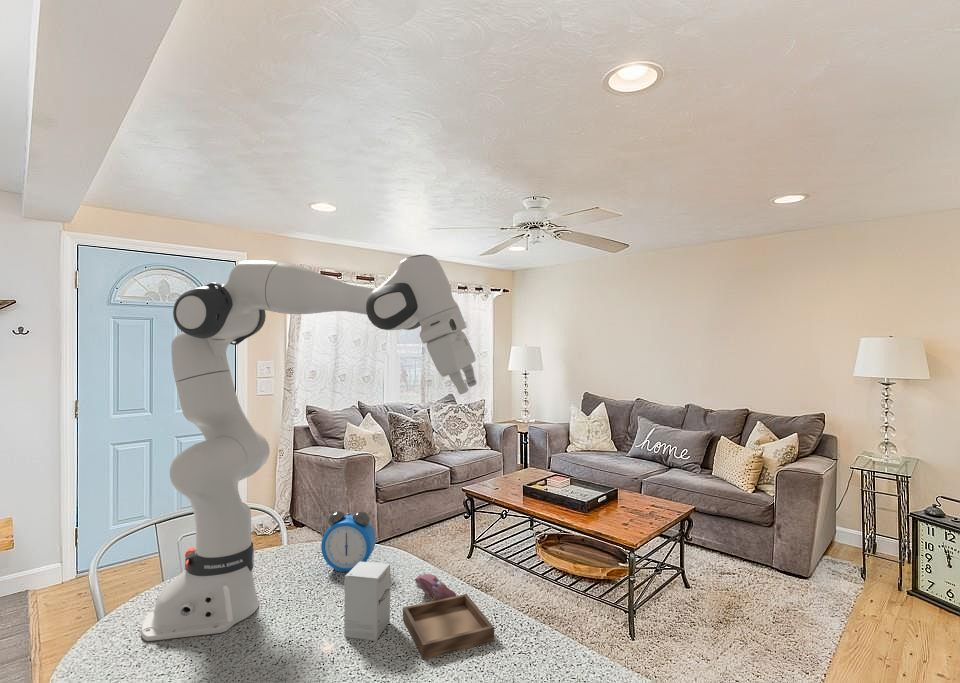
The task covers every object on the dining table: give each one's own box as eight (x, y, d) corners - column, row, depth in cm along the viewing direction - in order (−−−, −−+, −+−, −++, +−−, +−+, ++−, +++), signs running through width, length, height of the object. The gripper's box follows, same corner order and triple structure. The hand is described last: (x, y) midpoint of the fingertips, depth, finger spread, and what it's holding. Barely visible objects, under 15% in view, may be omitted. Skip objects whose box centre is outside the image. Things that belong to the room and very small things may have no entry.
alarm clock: (320, 572, 132) (320, 515, 132) (328, 562, 138) (328, 507, 138) (370, 573, 131) (370, 515, 131) (376, 563, 138) (376, 508, 138)
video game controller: (419, 598, 122) (408, 576, 120) (432, 584, 125) (422, 562, 123) (446, 614, 115) (435, 591, 113) (459, 598, 118) (449, 576, 116)
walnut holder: (423, 659, 96) (423, 645, 96) (402, 620, 109) (402, 607, 109) (494, 641, 102) (494, 627, 102) (466, 606, 115) (466, 593, 115)
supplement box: (377, 641, 102) (377, 578, 102) (343, 637, 103) (343, 575, 103) (391, 622, 109) (391, 563, 109) (358, 618, 110) (358, 560, 110)
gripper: (443, 330, 117) (465, 386, 117) (416, 336, 97) (443, 403, 97) (467, 320, 116) (490, 377, 116) (446, 323, 95) (473, 391, 95)
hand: (468, 389), depth 106 cm, fingers open, 8 cm apart
